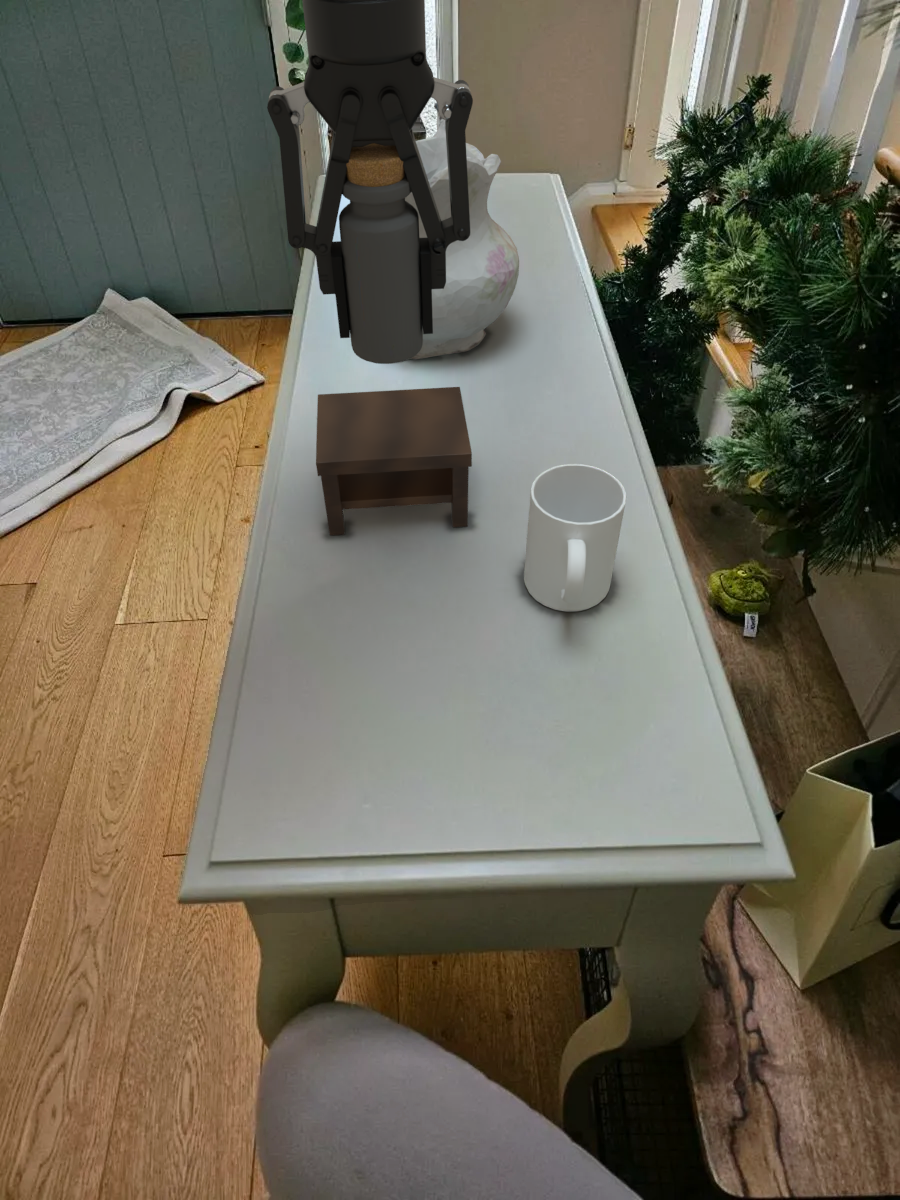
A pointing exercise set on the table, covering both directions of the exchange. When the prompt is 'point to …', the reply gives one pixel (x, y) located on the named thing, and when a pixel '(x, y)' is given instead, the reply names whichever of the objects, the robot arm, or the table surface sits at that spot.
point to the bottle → (381, 257)
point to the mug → (573, 536)
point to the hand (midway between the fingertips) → (386, 326)
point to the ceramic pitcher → (466, 254)
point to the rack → (393, 451)
